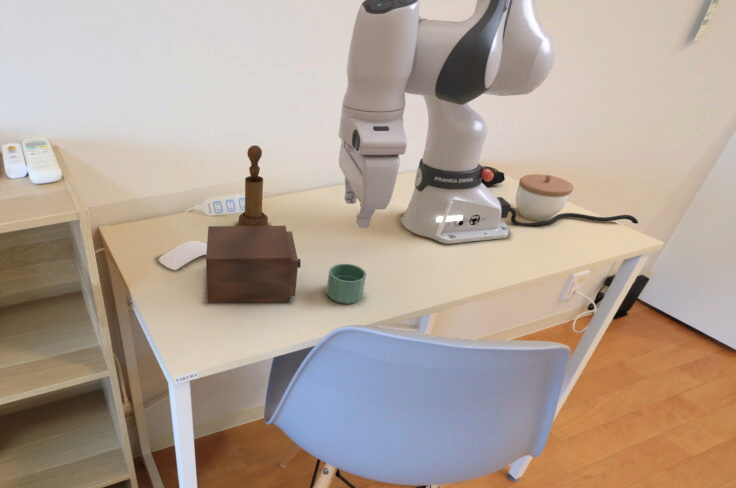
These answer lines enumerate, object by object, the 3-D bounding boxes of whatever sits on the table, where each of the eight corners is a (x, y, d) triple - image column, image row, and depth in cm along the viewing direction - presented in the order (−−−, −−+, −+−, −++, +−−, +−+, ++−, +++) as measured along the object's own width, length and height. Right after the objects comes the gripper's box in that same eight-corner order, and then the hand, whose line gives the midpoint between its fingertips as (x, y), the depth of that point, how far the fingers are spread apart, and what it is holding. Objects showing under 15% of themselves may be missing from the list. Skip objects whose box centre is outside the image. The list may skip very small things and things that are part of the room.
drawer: (295, 265, 102) (298, 231, 98) (301, 296, 93) (305, 260, 89) (221, 265, 103) (220, 231, 98) (220, 297, 94) (219, 261, 89)
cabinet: (282, 267, 103) (285, 225, 98) (288, 302, 93) (291, 257, 88) (209, 268, 104) (208, 226, 98) (207, 303, 94) (206, 258, 88)
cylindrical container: (358, 286, 98) (362, 263, 95) (365, 305, 93) (369, 282, 90) (324, 286, 98) (326, 263, 95) (329, 305, 93) (332, 282, 90)
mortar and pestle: (268, 221, 120) (271, 141, 109) (267, 233, 115) (270, 151, 104) (239, 220, 121) (240, 141, 110) (237, 232, 116) (237, 151, 105)
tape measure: (481, 190, 133) (485, 176, 131) (463, 181, 138) (467, 167, 136) (502, 186, 135) (507, 172, 133) (483, 177, 140) (488, 163, 138)
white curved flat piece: (154, 259, 107) (153, 249, 105) (201, 242, 112) (201, 232, 111) (173, 272, 102) (172, 261, 101) (220, 253, 108) (220, 243, 107)
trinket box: (536, 228, 116) (552, 187, 110) (499, 210, 123) (512, 171, 118) (570, 219, 119) (588, 179, 113) (532, 202, 127) (546, 164, 121)
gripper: (335, 108, 85) (326, 190, 93) (364, 146, 69) (349, 241, 77) (374, 107, 85) (361, 189, 93) (411, 146, 69) (391, 241, 77)
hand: (356, 213), depth 85 cm, fingers open, 8 cm apart
